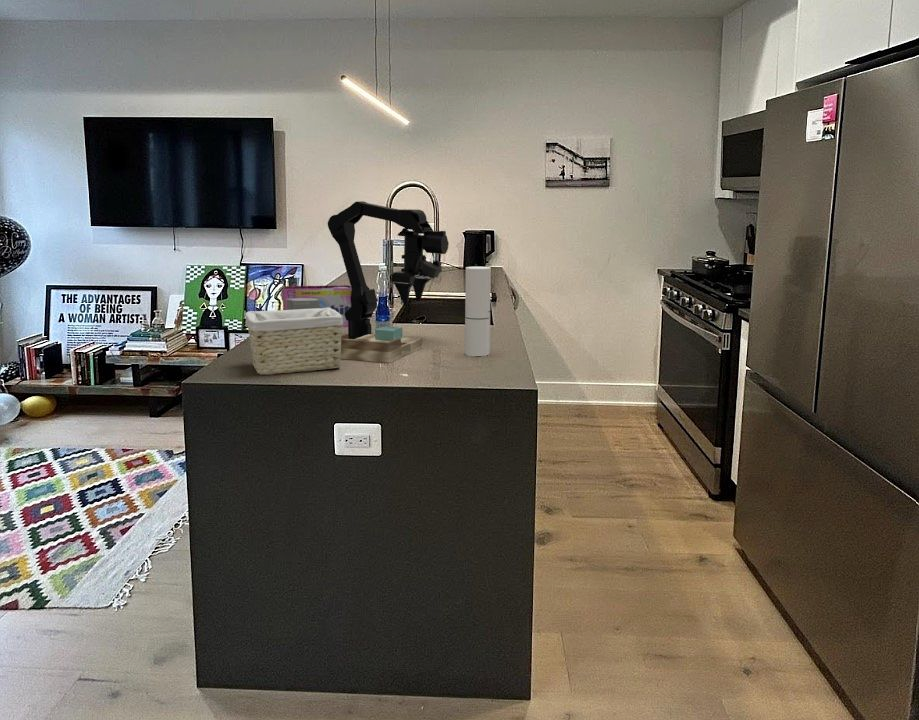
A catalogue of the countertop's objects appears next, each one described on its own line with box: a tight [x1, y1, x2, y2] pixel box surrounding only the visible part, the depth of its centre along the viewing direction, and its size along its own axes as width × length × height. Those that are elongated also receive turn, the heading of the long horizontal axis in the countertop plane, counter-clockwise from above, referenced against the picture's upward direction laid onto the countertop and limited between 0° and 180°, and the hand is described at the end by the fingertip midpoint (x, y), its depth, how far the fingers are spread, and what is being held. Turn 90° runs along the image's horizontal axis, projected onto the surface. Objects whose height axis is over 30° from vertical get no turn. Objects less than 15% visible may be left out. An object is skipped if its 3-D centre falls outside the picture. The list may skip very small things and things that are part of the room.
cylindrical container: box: [464, 266, 492, 357], centre depth 234 cm, size 7×7×25 cm
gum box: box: [279, 284, 351, 328], centre depth 280 cm, size 24×8×14 cm, turn 100°
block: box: [374, 326, 403, 341], centre depth 243 cm, size 6×6×3 cm
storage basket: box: [245, 308, 343, 376], centre depth 217 cm, size 24×16×15 cm
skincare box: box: [286, 298, 319, 310], centre depth 236 cm, size 8×7×16 cm
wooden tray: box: [341, 333, 423, 364], centre depth 237 cm, size 18×22×6 cm
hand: (412, 302), depth 250 cm, fingers open, 9 cm apart
